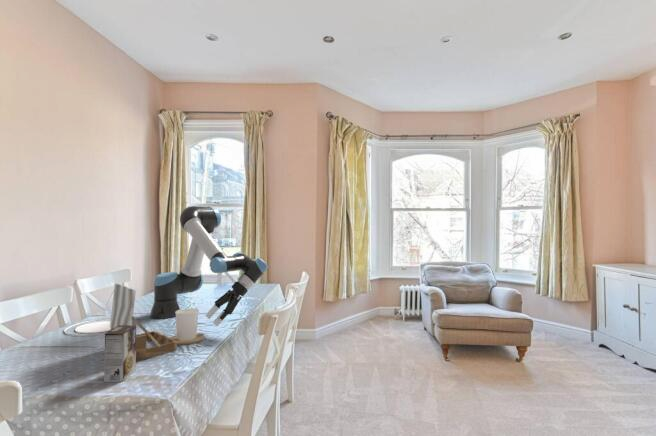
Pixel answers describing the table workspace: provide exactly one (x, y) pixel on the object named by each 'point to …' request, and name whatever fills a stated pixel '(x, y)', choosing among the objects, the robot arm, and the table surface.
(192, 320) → the candle holder
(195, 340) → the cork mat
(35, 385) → the table surface
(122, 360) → the coffee box
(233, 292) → the robot arm
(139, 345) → the cold frame
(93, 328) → the plate
